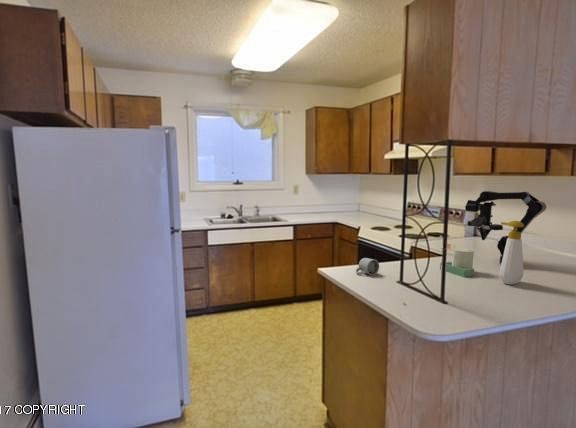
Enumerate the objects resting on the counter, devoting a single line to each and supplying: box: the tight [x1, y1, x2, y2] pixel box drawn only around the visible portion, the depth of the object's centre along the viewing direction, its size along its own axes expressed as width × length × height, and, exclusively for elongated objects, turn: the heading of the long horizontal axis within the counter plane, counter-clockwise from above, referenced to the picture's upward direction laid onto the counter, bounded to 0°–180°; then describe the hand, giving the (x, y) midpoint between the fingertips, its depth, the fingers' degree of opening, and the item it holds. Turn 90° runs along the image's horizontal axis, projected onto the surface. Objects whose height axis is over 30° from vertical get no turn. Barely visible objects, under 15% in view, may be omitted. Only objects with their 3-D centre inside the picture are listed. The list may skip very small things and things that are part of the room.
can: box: [452, 247, 475, 269], centre depth 180 cm, size 9×9×12 cm
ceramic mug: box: [355, 257, 380, 276], centre depth 176 cm, size 11×8×8 cm
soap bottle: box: [499, 220, 525, 286], centre depth 162 cm, size 13×10×29 cm
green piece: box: [439, 243, 475, 278], centre depth 178 cm, size 6×15×14 cm, turn 22°
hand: (483, 240), depth 203 cm, fingers closed
